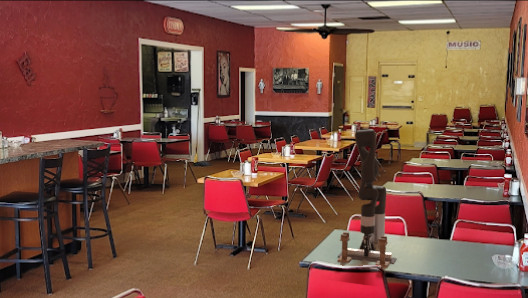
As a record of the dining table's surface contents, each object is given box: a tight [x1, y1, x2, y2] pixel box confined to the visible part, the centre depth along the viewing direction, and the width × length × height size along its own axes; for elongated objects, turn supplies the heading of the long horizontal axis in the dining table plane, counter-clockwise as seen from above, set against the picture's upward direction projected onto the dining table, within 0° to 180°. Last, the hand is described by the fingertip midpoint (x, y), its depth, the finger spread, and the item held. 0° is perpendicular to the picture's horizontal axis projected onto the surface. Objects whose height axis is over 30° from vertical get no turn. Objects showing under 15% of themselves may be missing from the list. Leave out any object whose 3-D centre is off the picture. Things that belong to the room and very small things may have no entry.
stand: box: [337, 231, 390, 269], centre depth 297 cm, size 6×26×15 cm, turn 68°
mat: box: [337, 251, 397, 265], centre depth 306 cm, size 9×30×1 cm, turn 68°
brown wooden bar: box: [347, 247, 393, 260], centre depth 306 cm, size 3×26×3 cm, turn 68°
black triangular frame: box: [358, 240, 376, 251], centre depth 320 cm, size 9×6×12 cm, turn 77°
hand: (366, 255), depth 306 cm, fingers open, 3 cm apart
